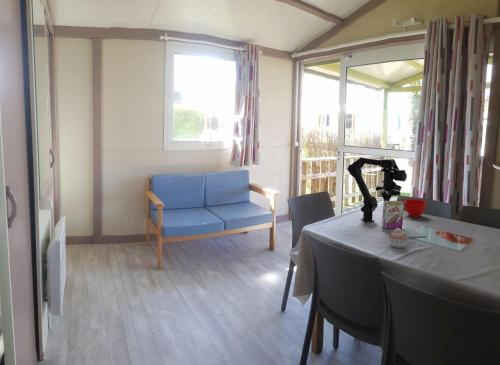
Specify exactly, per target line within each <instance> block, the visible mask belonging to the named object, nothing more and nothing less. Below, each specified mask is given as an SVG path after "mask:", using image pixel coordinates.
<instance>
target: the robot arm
mask: <svg viewBox="0 0 500 365" xmlns="http://www.w3.org/2000/svg"><path fill="white" fill-rule="evenodd" d="M365 165H372V166H378V167H381V168H382V169H381V170H380V172H383V180H381V183H382V185H377V186H375V191H377V192H378V191H381V192H380V195H381V197H382V200H383V202H384V201H391V198H392V197H397V196H398V197H399V196H401V190H402V188H403V186H401V185H399V184H397V182H406V181H407V177H408V174H407V172H406V170H405V169H400V168H399V166H398V165H397V162H396V160H395V159H394V158H385V159H384V158H383V159H379V158H372V157H365V156H362V157H359V158H358V159H357V160H355V161H353V162H352V163H351V164H349V165H348V167H347V171H348V172H349V173H348V174H349V175H350V176H351V177H352V178H354V181H355V183H356V184H357V187H358V189H359V191H360V194H361V196H362V198H363V202H362V203H363V206H362V207H360V212H362V218H360V220H361V221H363V222H364V223H365V222H375V220H374V219H373V212H375V211H376V209H377V208H378V205H379V204H378V200H377V197H376V196H373V195H372V194H371V192H370V191H369V188H368V186H367V184H366V182H365V180H364V177H363V175H362V171H363V170H362V168H363V167H364V166H365ZM396 181H397V182H396Z"/></svg>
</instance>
